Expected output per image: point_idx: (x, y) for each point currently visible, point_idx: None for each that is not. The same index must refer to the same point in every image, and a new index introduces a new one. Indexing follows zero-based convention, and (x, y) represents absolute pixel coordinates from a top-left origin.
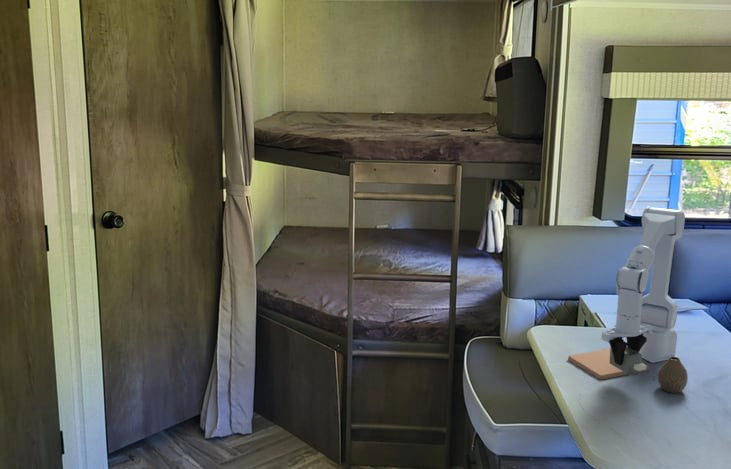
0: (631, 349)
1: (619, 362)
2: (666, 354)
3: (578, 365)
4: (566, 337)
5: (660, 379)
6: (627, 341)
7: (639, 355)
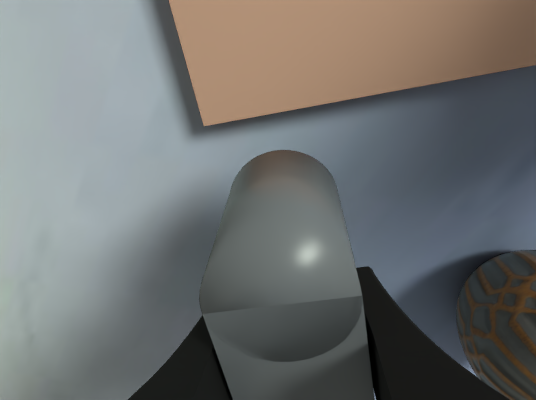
0: (362, 396)
1: None
2: None
3: None
4: None
5: (463, 327)
6: (387, 385)
7: None
